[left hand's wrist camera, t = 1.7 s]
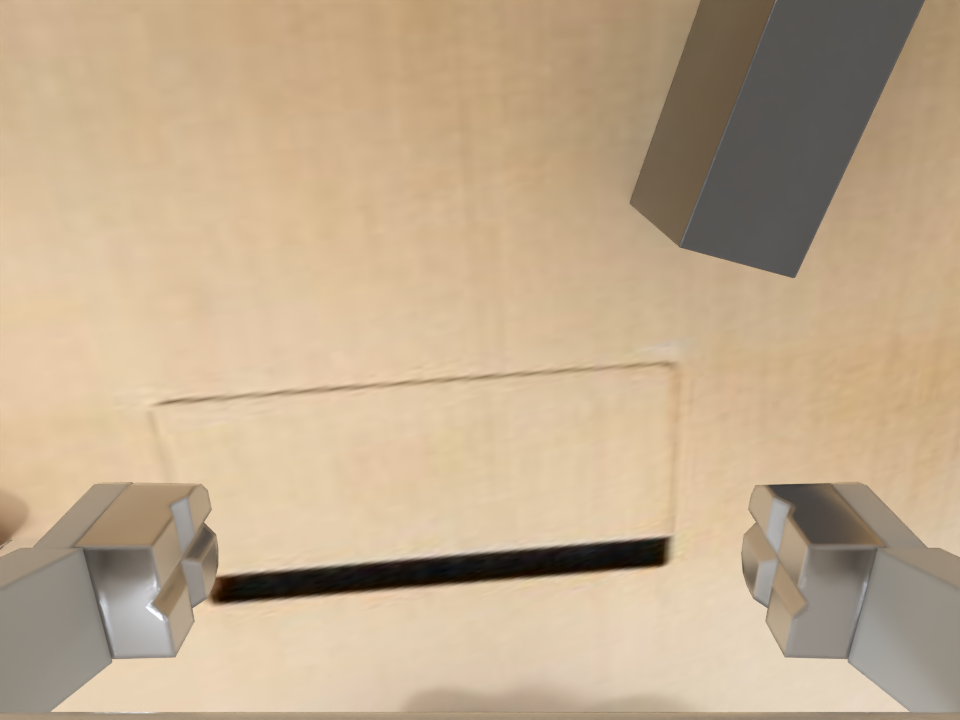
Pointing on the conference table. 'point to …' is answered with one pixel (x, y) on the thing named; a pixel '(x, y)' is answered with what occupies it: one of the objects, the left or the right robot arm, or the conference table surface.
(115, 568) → the left robot arm
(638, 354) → the conference table surface
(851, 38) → the bar
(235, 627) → the conference table surface
